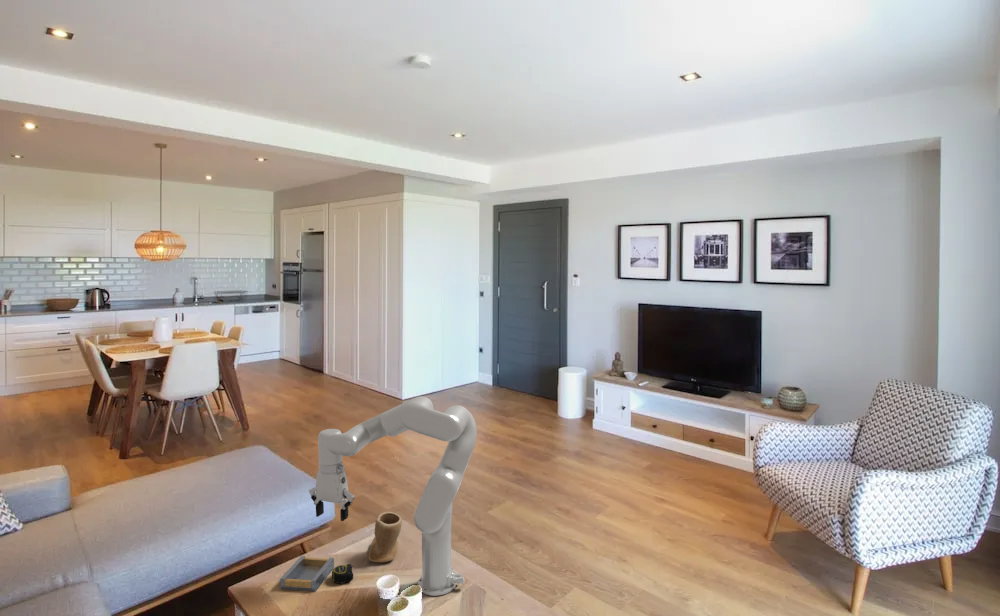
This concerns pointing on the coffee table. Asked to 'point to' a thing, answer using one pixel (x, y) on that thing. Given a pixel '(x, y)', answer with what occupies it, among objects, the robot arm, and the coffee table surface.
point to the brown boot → (385, 537)
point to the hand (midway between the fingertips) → (332, 517)
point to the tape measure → (342, 573)
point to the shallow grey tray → (307, 574)
